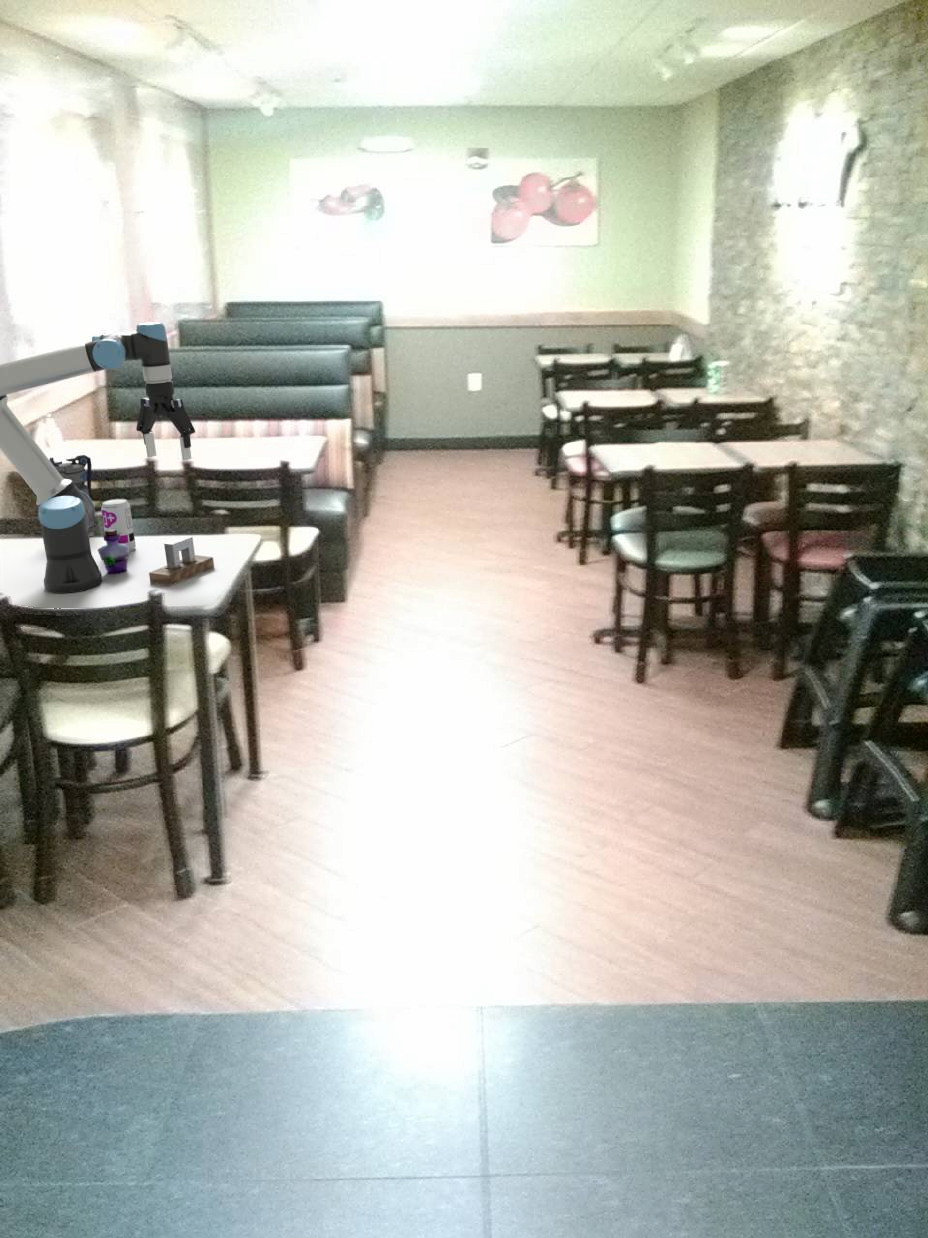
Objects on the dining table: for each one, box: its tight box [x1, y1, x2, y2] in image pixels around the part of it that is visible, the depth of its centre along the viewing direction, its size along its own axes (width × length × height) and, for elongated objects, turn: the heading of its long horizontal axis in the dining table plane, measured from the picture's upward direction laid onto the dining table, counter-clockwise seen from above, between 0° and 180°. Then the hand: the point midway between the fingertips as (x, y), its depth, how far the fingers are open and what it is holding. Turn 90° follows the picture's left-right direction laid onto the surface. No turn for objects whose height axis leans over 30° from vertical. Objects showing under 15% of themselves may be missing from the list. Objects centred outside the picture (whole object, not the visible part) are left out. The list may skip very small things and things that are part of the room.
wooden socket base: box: [148, 554, 215, 587], centre depth 317 cm, size 18×7×3 cm, turn 151°
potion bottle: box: [97, 530, 130, 575], centre depth 322 cm, size 9×9×12 cm
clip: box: [163, 535, 196, 570], centre depth 316 cm, size 8×3×10 cm, turn 151°
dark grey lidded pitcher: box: [48, 454, 97, 534], centre depth 364 cm, size 10×13×25 cm
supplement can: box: [100, 498, 137, 553], centre depth 343 cm, size 8×8×15 cm
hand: (169, 458), depth 320 cm, fingers open, 13 cm apart
